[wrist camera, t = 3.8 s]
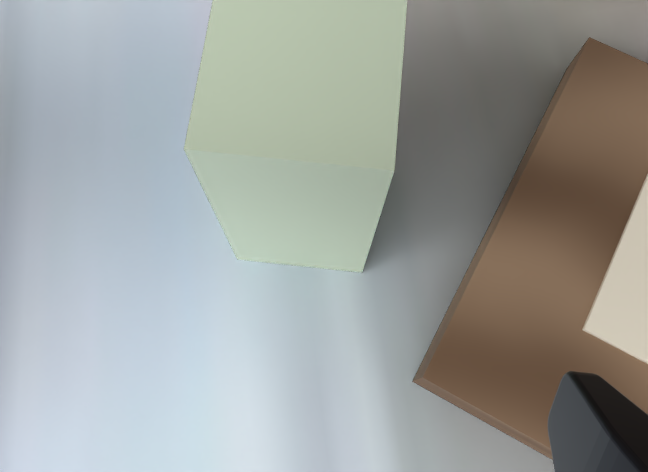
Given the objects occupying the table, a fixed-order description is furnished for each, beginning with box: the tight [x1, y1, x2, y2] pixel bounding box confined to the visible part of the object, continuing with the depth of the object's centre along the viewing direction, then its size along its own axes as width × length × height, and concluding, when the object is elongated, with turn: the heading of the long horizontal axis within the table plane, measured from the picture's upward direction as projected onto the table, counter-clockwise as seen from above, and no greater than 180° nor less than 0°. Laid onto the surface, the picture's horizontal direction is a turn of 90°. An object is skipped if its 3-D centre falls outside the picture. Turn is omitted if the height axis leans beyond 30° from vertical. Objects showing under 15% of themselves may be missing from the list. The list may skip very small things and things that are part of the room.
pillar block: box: [184, 0, 407, 273], centre depth 17 cm, size 4×4×9 cm
